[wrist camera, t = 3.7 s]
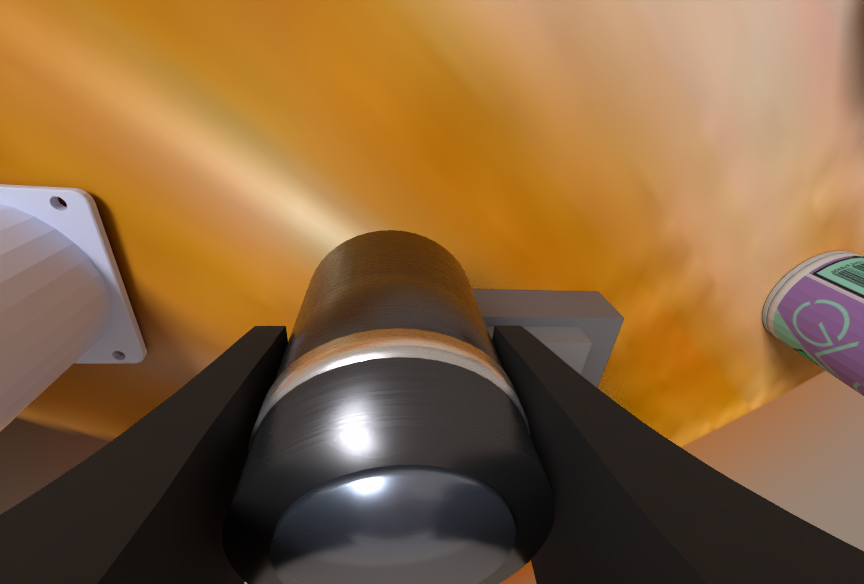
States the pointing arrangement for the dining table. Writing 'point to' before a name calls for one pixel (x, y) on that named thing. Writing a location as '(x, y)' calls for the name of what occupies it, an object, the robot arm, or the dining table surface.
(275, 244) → the dining table surface
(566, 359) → the camera body
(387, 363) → the lens
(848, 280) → the spray can
